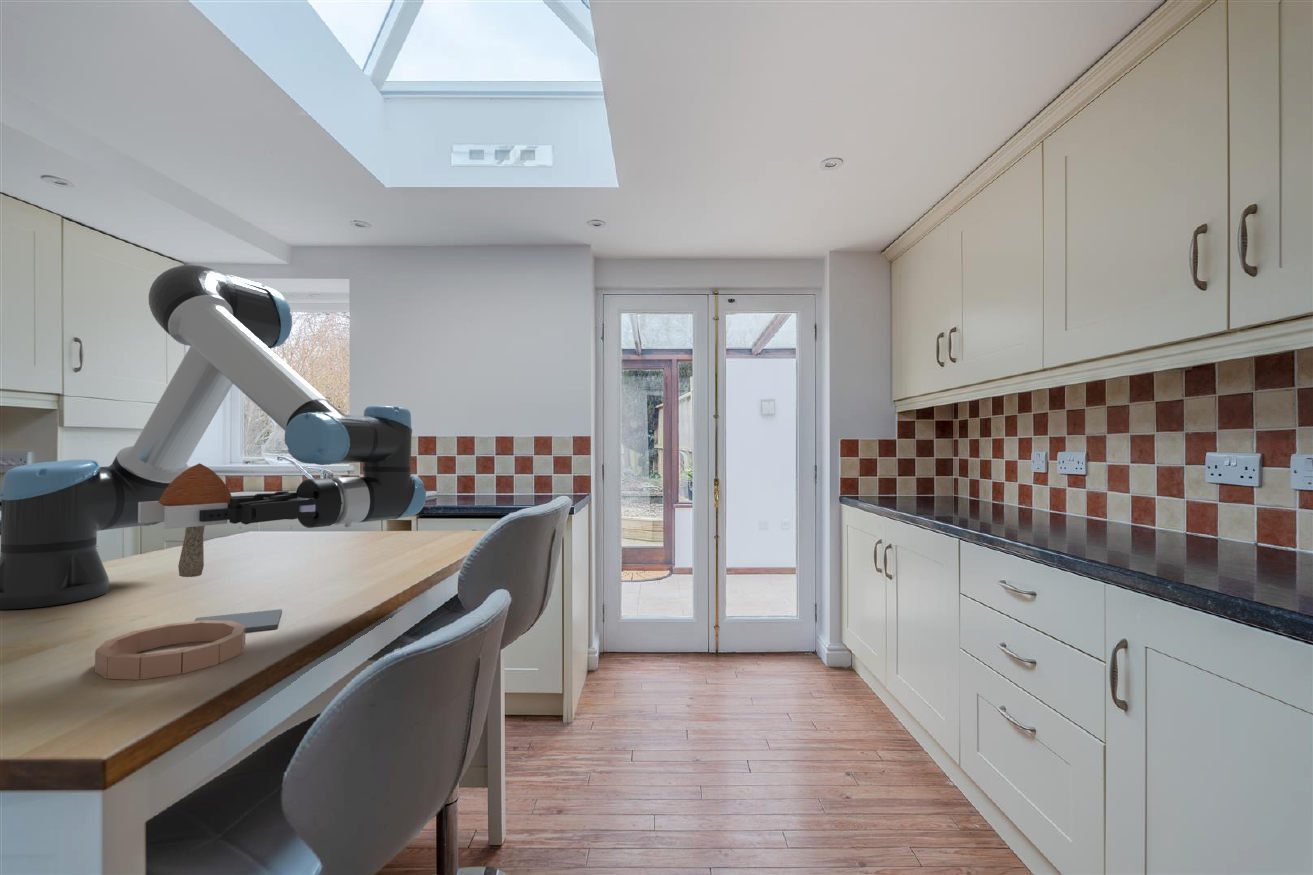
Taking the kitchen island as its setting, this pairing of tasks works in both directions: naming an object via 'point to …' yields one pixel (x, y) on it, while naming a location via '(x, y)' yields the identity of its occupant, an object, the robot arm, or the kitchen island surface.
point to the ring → (124, 664)
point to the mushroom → (194, 490)
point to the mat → (251, 619)
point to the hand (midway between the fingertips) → (152, 515)
